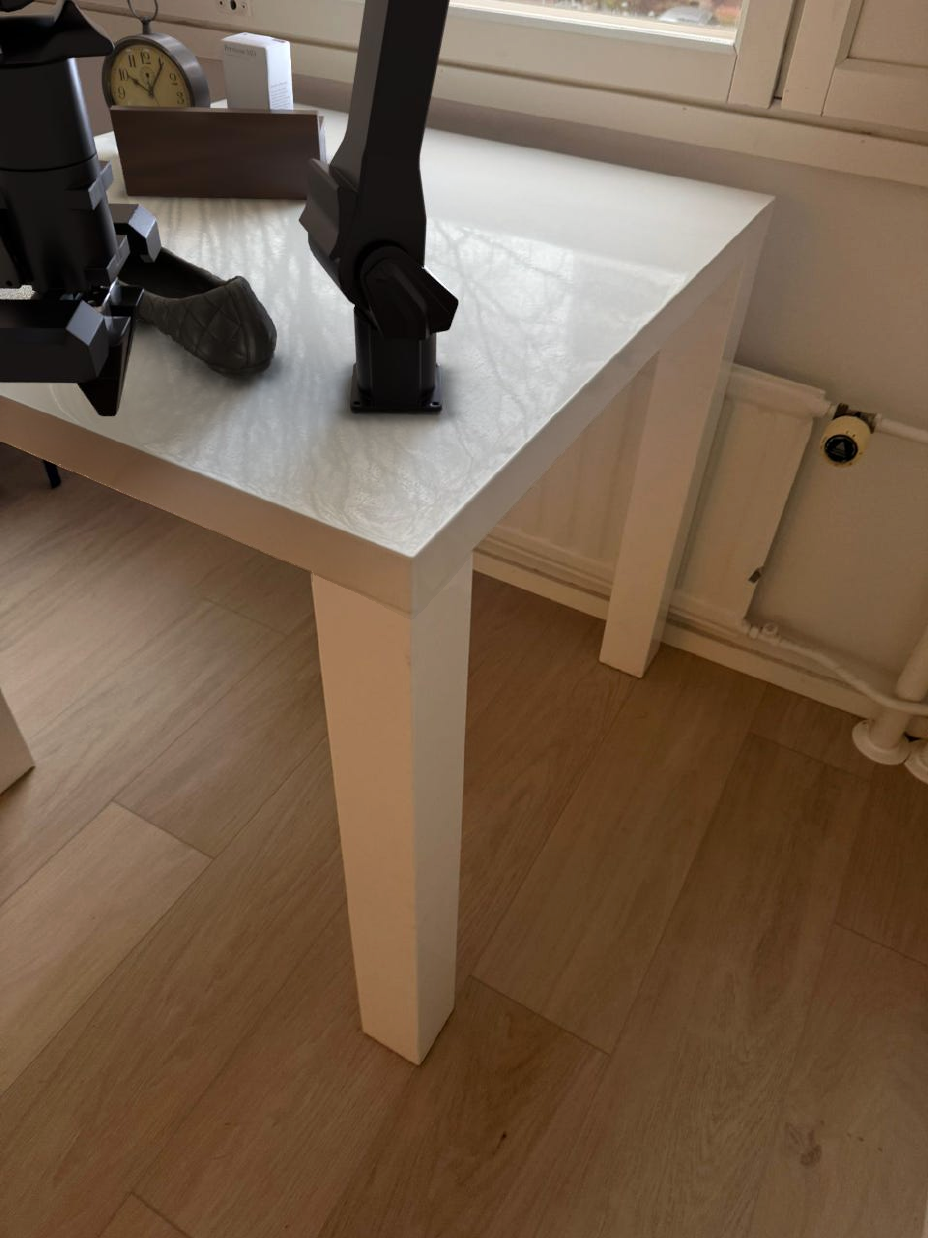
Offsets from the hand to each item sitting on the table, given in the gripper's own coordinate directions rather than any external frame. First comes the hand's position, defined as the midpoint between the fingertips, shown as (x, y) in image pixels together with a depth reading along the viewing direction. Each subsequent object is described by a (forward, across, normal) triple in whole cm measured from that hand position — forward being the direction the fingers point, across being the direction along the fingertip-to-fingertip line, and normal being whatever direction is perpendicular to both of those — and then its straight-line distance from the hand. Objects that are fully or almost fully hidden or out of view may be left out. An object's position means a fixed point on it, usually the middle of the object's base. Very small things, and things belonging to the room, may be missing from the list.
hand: (109, 413), depth 59 cm
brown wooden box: (+2, -50, +1) cm, 50 cm away
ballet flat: (+2, -18, 0) cm, 18 cm away
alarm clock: (+2, -59, -7) cm, 60 cm away
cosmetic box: (+2, -57, +4) cm, 57 cm away
